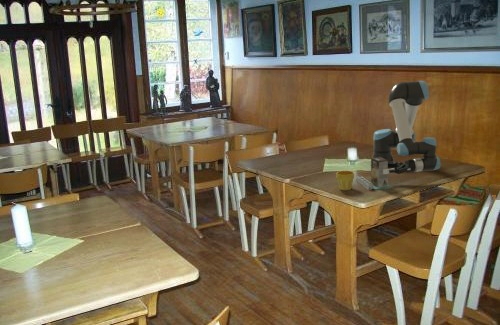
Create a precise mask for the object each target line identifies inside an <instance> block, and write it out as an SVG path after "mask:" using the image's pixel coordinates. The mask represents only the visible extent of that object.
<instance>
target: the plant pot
mask: <svg viewBox="0 0 500 325" xmlns="http://www.w3.org/2000/svg"><path fill="white" fill-rule="evenodd" d="M335 176H336V180H337V182H338V185H339V186H338V187H339V189H340V190H341V191H350V190H352V187H353V181H354V179H355V172H354V171H351V170H340V171H337V172H336V174H335Z"/></svg>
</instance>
